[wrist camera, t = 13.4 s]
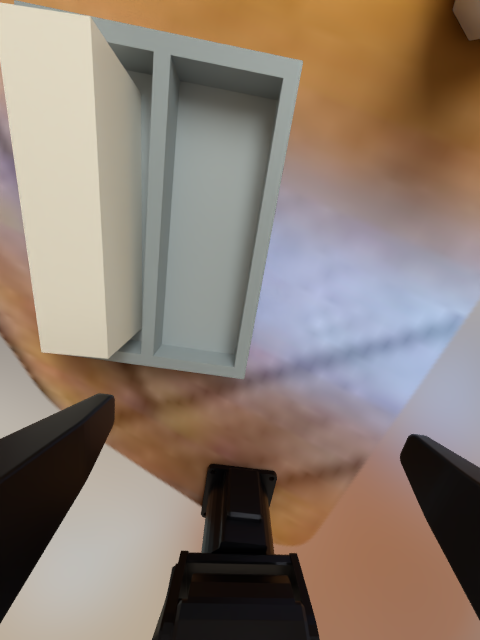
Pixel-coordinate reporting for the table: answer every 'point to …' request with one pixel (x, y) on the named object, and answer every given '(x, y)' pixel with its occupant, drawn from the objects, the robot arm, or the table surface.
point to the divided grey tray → (203, 191)
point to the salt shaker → (468, 17)
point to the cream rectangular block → (75, 178)
